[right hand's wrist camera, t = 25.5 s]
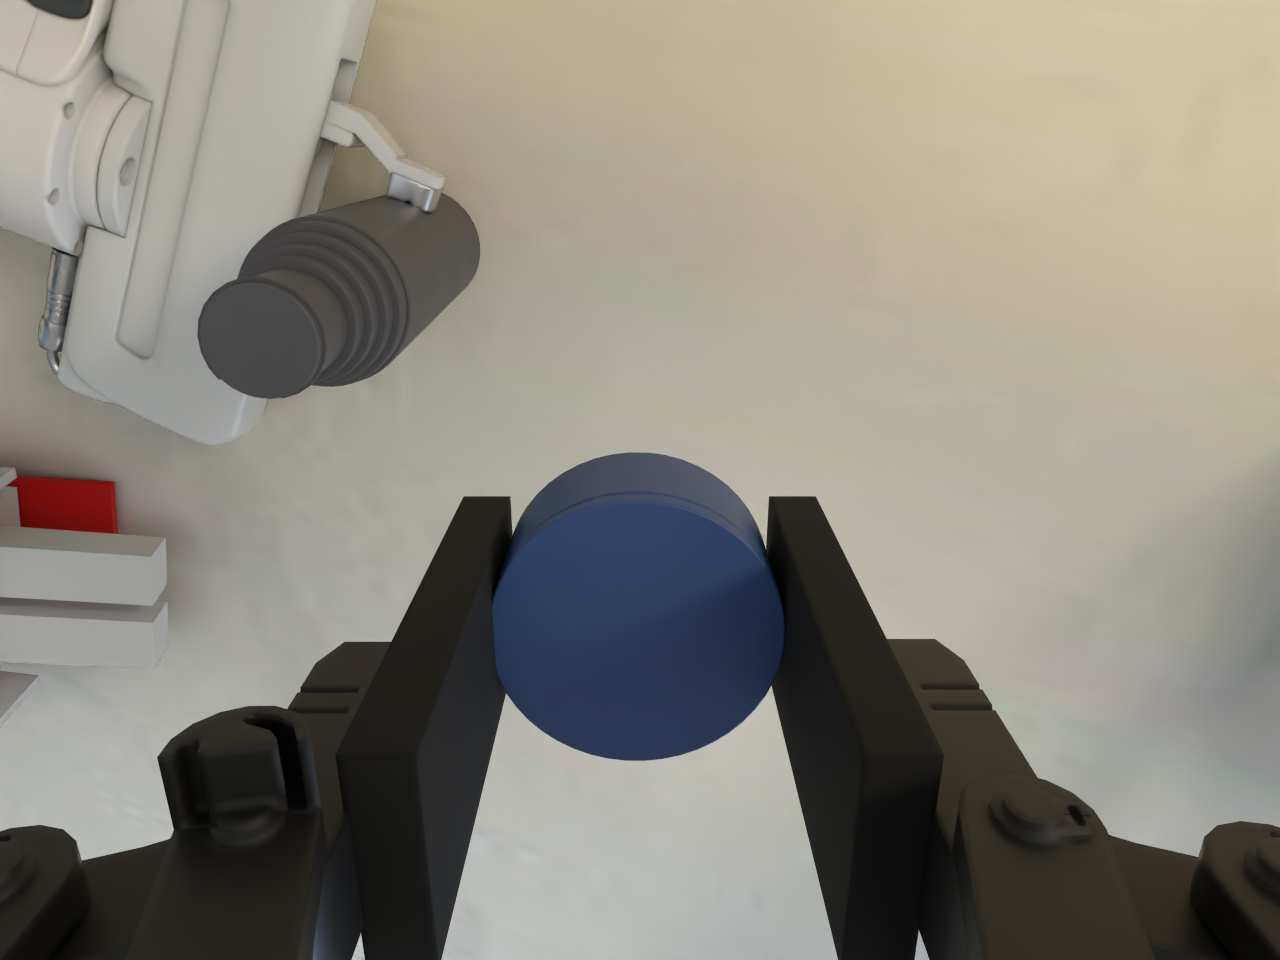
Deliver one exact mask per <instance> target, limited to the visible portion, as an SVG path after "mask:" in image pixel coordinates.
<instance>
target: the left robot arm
mask: <svg viewBox="0 0 1280 960" xmlns="http://www.w3.org/2000/svg"><path fill="white" fill-rule="evenodd" d="M376 1H377V0H0V227H1V228H3V229H6V230H9V231H11V232H14V233H17V234H19V235H22V236H24V237H27V238H30V239H32V240H35V241H38V242H40V243H43V244H45V245H48V246H51V247H52V253H51V259H50V265H49V271H48V277H47V286H46V287H47V290H46V293H47V295H46V300H47V301H46V307H45V311H44V315H42V317H41V320H40V323H39V328H38V342H39V346H40V347H41V348H43V349H45V350H46V352H47V358H48V361H49V364H50V366H51V368H52V370H53V372H54V373H55V375H56V376H57V378H58V380H59V382H60V383H61V384H62V385H64V386H65V387H67V388H68V389H70V390H72V391H74V392H77V393H80V394H83V395H85V396H88V397H91V398H94V399H97V400H99V401H102V402H106V403H113V404H118V405H119V406H121V407H123V408H125V409H127V410H129V411H131V412H133V413H135V414H136V415H138V416H140V417H142V418H144V419H146V420H149V421H151V422H153V423H155V424H157V425H159V426H161V427H163V428H165V429H168V430H170V431H172V432H174V433H177V434H179V435H181V436H184V437H186V438H189V439H191V440H194V441H196V442H199V443H202V444H206V445H218V444H222V443H226V442H229V441H231V440H234V439H237V438H239V437H240V436H242V435H243V434H244V433H246V432H247V431H249V430H250V429H251V428H252V427H253V426H254V425H255V424H257V423H258V422H259V421H260V419H261V418H262V416H263V413H264V410H265V406H266V403H267V399H265V398H257V397H252V396H249V395H246V394H243V393H241V392H239V391H237V390H235V389H233V388H232V387H230V386H229V385H227V384H226V383H225V382H224V381H222V380H221V379H220V380H218V378H217V377H216V376H215V375H214V374H213V373H212V371H211V370H210V369H209V368H208V366H207V364H206V362H205V360H204V358H203V356H202V354H201V352H200V351H201V350H200V346H199V342H198V337H197V335H198V319H199V316H200V313H201V311H202V308H203V305H204V304H205V302H206V301H207V300H208V298H209V297H210V296H211V294H212V293H213V292H214V291H215V290H217V289H218V288H220V287H221V286H223V285H224V284H225V283H227V282H230V281H233V280H235V279H237V277H238V274H239V271H240V268H241V266H242V264H243V261H244V259H245V257H246V256H247V254H248V253H249V251H250V250H251V249H252V247H253V246H254V245H255V244H256V243H257V242H258V241H259V240H260V239H262V237H263V236H264V235H266V234H267V233H268V232H269V231H270V230H272V229H273V228H275V227H277V226H278V225H280V224H282V223H284V222H287V221H289V220H292V219H295V218H299V217H303V216H307V215H311V214H315V213H319V210H320V206H321V202H322V199H323V195H324V191H325V188H326V184H327V180H328V177H329V173H330V169H331V166H332V162H333V158H334V155H335V151H336V148H337V144H340V145H343V146H345V147H362V146H366V147H367V148H368V149H369V150H370V152H371V153H372V154H373V155H374V156H375V157H376V159H377V160H378V161H379V162H380V163H381V164H382V166H383V167H384V168H385V169H386V170H387V171H388V173H389V174H390V175H392V176H391V180H390V183H389V187H388V191H387V194H386V196H389V197H391V198H394V199H396V200H399V201H402V202H404V201H409V202H410V203H411V204H412V206H415V207H416V208H418V209H420V210H423V211H427V212H432V211H435V210H436V207H437V204H438V201H439V198H440V195H441V192H442V189H443V187H444V183H445V180H446V176H445V175H444V174H442V173H440V172H438V171H435V170H433V169H431V168H428V167H426V166H424V165H421V164H419V163H417V162H414V161H412V160H409V159H407V154H406V153H405V152H404V151H403V149H402V148H401V147H400V146H399V144H398V143H397V142H396V141H395V139H394V138H393V137H392V136H391V134H390V133H389V132H388V131H387V129H386V128H385V127H384V126H383V124H382V123H381V122H380V121H379V119H378V118H377V117H376V116H375V114H372V113H370V112H368V111H365V110H363V109H361V108H358V107H356V106H354V105H351V104H349V100H350V96H351V93H352V89H353V86H354V82H355V78H356V75H357V71H358V67H359V64H360V60H361V56H362V53H363V49H364V45H365V42H366V38H367V34H368V31H369V27H370V23H371V20H372V16H373V13H374V9H375V5H376ZM58 352H61V357H60V360H59V357H58Z"/></svg>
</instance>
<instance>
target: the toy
mask: <svg viewBox="0 0 1280 960" xmlns="http://www.w3.org/2000/svg"><path fill="white" fill-rule="evenodd" d="M166 585H167V567H166V537H152V536H138V535H124V534H118V533H117V520H116V507H115V493H114V482H112V481H93V480H75V479H56V478H37V477H18V476H17V475H16V471H15V467H0V668H1V667H2V666H3V665H4V664H5V663H6V662H8V663H30V664H53V665H76V666H98V667H121V668H144V669H155V668H156V666H157V665H158V663H159V661H160V660H161V658H162V656H163V655H164V653H165V651H166V650H167V648H168V646H169V640H168V603H167V601H156V600H157V599H158V597H159V596H160V594H161V593H162V591H163V590H164V588H165V587H166ZM37 685H38V675H30V674H22V673H13V672H5V671H0V727H1V726H2V725H3V724H4V723H5V722H6V721H7V719H8V718H9V717H10V716H11V715H12V714H13V712H14V711H15V710H16V709H17V708H18V707H19V706H20V704H21V703H22V702H23V701H24V700H25V699H26V698H27V696H28V695H29V694H30V693H31V692H32V691H33V689H34V688H35V687H36V686H37Z"/></svg>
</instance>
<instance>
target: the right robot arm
mask: <svg viewBox="0 0 1280 960" xmlns="http://www.w3.org/2000/svg"><path fill="white" fill-rule="evenodd" d="M511 539H512V520H511V501H510V497H463V499H462V501H461V503H460V505H459V507H458V509H457V511H456V513H455V515H454V517H453V519H452V521H451V523H450V525H449V527H448V529H447V531H446V533H445V535H444V537H443V539H442V541H441V543H440V545H439V547H438V549H437V551H436V553H435V555H434V557H433V559H432V561H431V563H430V565H429V567H428V569H427V571H426V573H425V575H424V577H423V579H422V581H421V583H420V585H419V587H418V589H417V591H416V593H415V595H414V597H413V599H412V601H411V603H410V605H409V608H408V610H407V612H406V614H405V616H404V618H403V620H402V622H401V624H400V626H399V628H398V630H397V632H396V634H395V636H394V638H393V640H392V642H344V643H343V644H341V645H340V646H339V647H337V648H336V649H334V650H333V651H332V652H330V653H329V654H328V655H326V656H325V657H324V658H322V659H321V660H320V661H318V662H317V663H316V664H315V666H314V667H313V669H312V670H311V672H310V674H309V675H308V677H307V678H306V680H305V682H304V683H303V685H302V686H301V691H300V693H297V694H296V696H295V698H294V699H293V701H292V702H291V704H290V706H289V707H288V709H284V708H280V707H277V706H247V707H243V708H238V709H234V710H229V711H224V712H220V713H218V714H215V715H213V716H211V717H208V718H206V719H203V720H201V721H199V722H196V723H194V724H192V725H191V726H189V727H188V728H187V729H185V730H184V731H182V732H181V733H179V734H178V735H177V736H175V737H174V738H172V739H171V740H170V741H169V743H168V744H167V745H166V747H165V748H164V749H163V751H162V752H161V753H160V754H159V756H158V757H157V758H158V763H159V767H160V771H161V776H162V780H163V784H164V788H165V793H166V797H167V801H168V806H169V810H170V814H171V819H172V823H173V827H174V831H173V834H172V837H171V838H170V839H168V840H165V841H162V842H158V843H155V844H152V845H148V846H145V847H141V848H136V849H132V850H128V851H123V852H119V853H114V854H110V855H106V856H101V857H97V858H92V859H88V860H83V861H82V860H81V857H80V853H79V850H78V846H77V843H76V840H74V839H73V838H72V837H71V836H70V835H69V834H68V833H67V832H65V831H64V830H63V829H58V828H53V827H48V826H42V825H36V826H27V827H18V828H10V829H7V830H4V831H1V832H0V960H351V959H352V956H353V953H354V951H355V948H356V945H357V942H358V939H359V936H360V934H361V935H362V942H363V949H364V955H365V960H441V958H442V954H443V950H444V946H445V942H446V938H447V934H448V929H449V925H450V921H451V917H452V913H453V909H454V905H455V901H456V896H457V892H458V888H459V884H460V880H461V876H462V872H463V868H464V864H465V859H466V855H467V851H468V847H469V843H470V839H471V835H472V831H473V827H474V822H475V818H476V814H477V810H478V806H479V802H480V798H481V794H482V789H483V785H484V781H485V777H486V773H487V769H488V765H489V761H490V757H491V752H492V748H493V744H494V740H495V736H496V732H497V728H498V724H499V720H500V715H501V711H502V707H503V703H504V699H505V695H506V691H505V689H504V687H503V686H502V684H501V682H500V680H499V678H498V676H497V673H496V660H495V644H494V629H493V614H492V599H493V595H494V592H495V588H496V586H497V582H498V579H499V576H500V573H501V570H502V567H503V564H504V560H505V557H506V554H507V551H508V548H509V545H510V542H511ZM766 552H767V555H768V558H769V561H770V564H771V568H772V571H773V574H774V577H775V580H776V583H777V587H778V590H779V593H780V596H781V600H782V605H783V609H784V614H785V643H784V651H783V655H782V660H781V664H780V667H779V669H778V672H777V674H776V677H775V679H774V681H773V683H772V689H773V693H774V697H775V701H776V705H777V710H778V714H779V718H780V722H781V726H782V730H783V734H784V738H785V742H786V747H787V751H788V755H789V759H790V763H791V767H792V771H793V775H794V779H795V784H796V788H797V792H798V796H799V800H800V804H801V808H802V812H803V817H804V821H805V825H806V829H807V833H808V837H809V841H810V845H811V849H812V854H813V858H814V862H815V866H816V870H817V874H818V878H819V882H820V887H821V891H822V895H823V899H824V903H825V907H826V911H827V915H828V919H829V924H830V928H831V932H832V936H833V940H834V944H835V948H836V952H837V956H838V960H914V958H915V951H916V945H917V938H918V931H920V934H921V937H922V939H923V942H924V945H925V948H926V951H927V954H928V956H929V959H930V960H1280V828H1279V827H1276V826H1273V825H1270V824H1260V823H1251V822H1242V821H1239V822H1234V823H1228V824H1223V825H1218V826H1216V827H1215V828H1214V829H1213V830H1212V831H1211V832H1209V833H1208V834H1207V835H1206V836H1205V837H1204V840H1203V843H1202V847H1201V851H1200V854H1199V857H1195V856H1191V855H1186V854H1182V853H1177V852H1173V851H1168V850H1164V849H1160V848H1155V847H1151V846H1146V845H1142V844H1137V843H1134V842H1130V841H1127V840H1124V839H1120V838H1117V837H1113V836H1111V835H1109V834H1108V833H1107V830H1106V828H1105V827H1104V825H1103V823H1102V822H1101V820H1100V819H1099V817H1098V816H1097V814H1096V813H1095V811H1094V810H1093V809H1092V808H1091V807H1089V806H1088V805H1087V804H1086V803H1084V802H1083V801H1082V800H1081V799H1079V798H1078V797H1077V796H1076V795H1074V794H1073V793H1072V792H1070V791H1068V790H1065V789H1063V788H1061V787H1059V786H1057V785H1055V784H1053V783H1051V782H1049V781H1047V780H1043V779H1039V778H1037V776H1036V775H1035V773H1034V771H1033V770H1032V768H1031V767H1030V765H1029V763H1028V762H1027V760H1026V759H1025V757H1024V755H1023V754H1022V752H1021V751H1020V749H1019V747H1018V746H1017V744H1016V743H1015V741H1014V740H1013V738H1012V736H1011V735H1010V733H1009V732H1008V730H1007V728H1006V727H1005V725H1004V724H1003V722H1002V720H1001V719H1000V717H999V716H998V714H997V712H996V711H995V710H992V704H991V703H990V701H989V700H988V698H987V696H986V695H985V693H984V692H983V690H980V689H979V684H978V682H977V681H976V679H975V677H974V676H973V674H972V673H971V671H970V669H969V668H968V666H967V665H966V663H965V661H964V660H963V659H961V658H960V657H959V656H957V655H956V654H955V653H953V652H952V651H950V650H949V649H948V648H946V647H945V646H944V645H942V644H941V643H939V642H938V641H937V640H935V639H886V637H885V635H884V633H883V631H882V629H881V627H880V625H879V623H878V621H877V619H876V617H875V615H874V613H873V611H872V609H871V607H870V605H869V603H868V601H867V599H866V597H865V595H864V593H863V591H862V589H861V587H860V585H859V583H858V581H857V579H856V577H855V575H854V573H853V571H852V569H851V567H850V565H849V563H848V561H847V559H846V557H845V555H844V553H843V551H842V549H841V547H840V545H839V543H838V541H837V538H836V536H835V534H834V532H833V530H832V528H831V526H830V524H829V522H828V520H827V518H826V516H825V514H824V512H823V510H822V508H821V506H820V504H819V502H818V500H817V498H816V497H769V509H768V527H767V545H766Z"/></svg>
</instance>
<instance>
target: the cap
mask: <svg viewBox="0 0 1280 960" xmlns="http://www.w3.org/2000/svg"><path fill="white" fill-rule="evenodd" d="M492 614H493V629H494V644H495V660H496V673H497V676H498V678H499V680H500V682H501V684H502V686H503V687H504V689H505V691H506V693H507V694H508V696H509V697H510V699H511V700H512V701H513V703H514V704H515V706H516V707H517V708H518V709H519V710H520V711H521V712H522V713H523V714H524V715H525V717H526V718H527V719H528V720H529V721H531V722H532V723H533V724H534V725H536V726H537V727H538V728H539V729H540V730H542V731H543V732H545V733H546V734H548V735H549V736H551V737H552V738H554V739H556V740H557V741H559V742H561V743H563V744H565V745H567V746H570V747H572V748H574V749H577V750H580V751H582V752H585V753H588V754H591V755H596V756H600V757H604V758H610V759H618V760H634V761H645V760H655V759H664V758H669V757H673V756H678V755H682V754H685V753H688V752H691V751H694V750H697V749H699V748H702V747H704V746H706V745H708V744H710V743H713V742H714V741H716V740H718V739H719V738H721V737H723V736H724V735H726V734H728V733H729V732H730V731H732V730H733V729H734V728H736V727H737V726H738V725H739V724H741V723H742V722H743V721H744V720H745V719H746V718H747V717H748V716H749V715H750V714H751V713H752V712H753V711H754V710H755V709H756V707H757V706H758V705H759V703H760V702H761V701H762V700H763V698H764V697H765V696H766V694H767V692H768V690H769V688H770V687H771V685H772V683H773V681H774V679H775V677H776V674H777V672H778V669H779V667H780V664H781V660H782V655H783V651H784V643H785V614H784V609H783V605H782V600H781V596H780V593H779V590H778V587H777V583H776V580H775V577H774V574H773V571H772V568H771V564H770V561H769V558H768V555H767V552H766V549H765V545H764V542H763V539H762V536H761V534H760V531H759V529H758V526H757V524H756V522H755V520H754V518H753V516H752V515H751V513H750V511H749V509H748V508H747V507H746V506H745V504H744V503H743V502H742V500H741V499H740V498H739V496H738V495H737V494H736V493H735V492H733V491H732V490H731V489H730V488H729V487H728V486H727V485H726V484H725V483H724V482H722V481H721V480H720V479H718V478H717V477H716V476H714V475H713V474H711V473H709V472H708V471H706V470H704V469H702V468H700V467H699V466H696V465H694V464H691V463H689V462H686V461H684V460H681V459H677V458H674V457H670V456H666V455H660V454H654V453H653V454H652V453H622V454H613V455H608V456H604V457H600V458H596V459H593V460H590V461H588V462H585V463H582V464H580V465H577V466H575V467H574V468H572V469H570V470H568V471H566V472H564V473H563V474H561V475H560V476H558V477H557V478H556V479H554V480H553V481H551V482H550V483H549V484H548V485H547V486H546V487H544V488H543V489H542V490H541V491H540V492H539V493H538V494H537V495H536V496H535V498H534V499H533V500H532V501H531V503H530V504H529V505H528V506H527V508H526V509H525V511H524V513H523V514H522V516H521V518H520V519H519V521H518V523H517V526H516V528H515V531H514V533H513V536H512V539H511V542H510V545H509V548H508V551H507V554H506V557H505V560H504V564H503V567H502V570H501V573H500V576H499V579H498V582H497V586H496V588H495V592H494V595H493V599H492Z"/></svg>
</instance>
